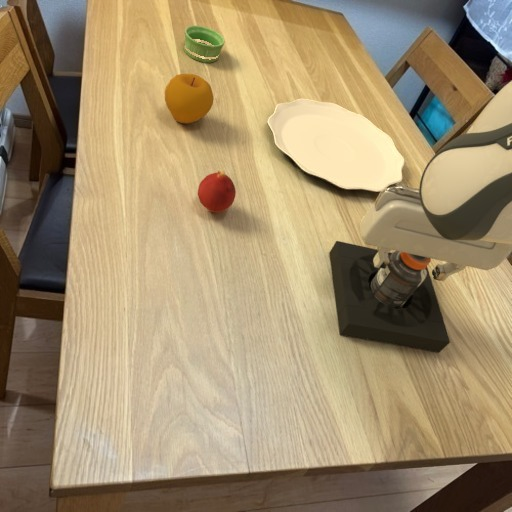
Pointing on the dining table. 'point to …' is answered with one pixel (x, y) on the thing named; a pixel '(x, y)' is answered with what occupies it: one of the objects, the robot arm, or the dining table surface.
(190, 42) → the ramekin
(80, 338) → the dining table surface
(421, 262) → the pill bottle
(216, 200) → the onion
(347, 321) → the socket pad
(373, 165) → the plate
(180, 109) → the apple
